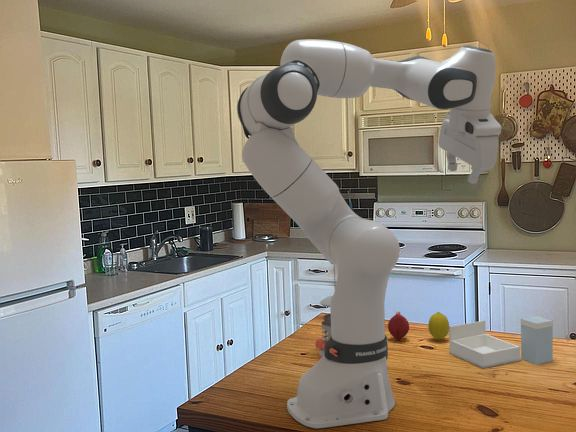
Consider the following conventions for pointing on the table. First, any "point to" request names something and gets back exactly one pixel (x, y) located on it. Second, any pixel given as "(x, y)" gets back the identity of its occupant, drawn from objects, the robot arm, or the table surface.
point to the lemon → (438, 326)
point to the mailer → (480, 346)
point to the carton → (537, 340)
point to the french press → (326, 319)
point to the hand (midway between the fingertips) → (461, 176)
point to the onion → (398, 326)
